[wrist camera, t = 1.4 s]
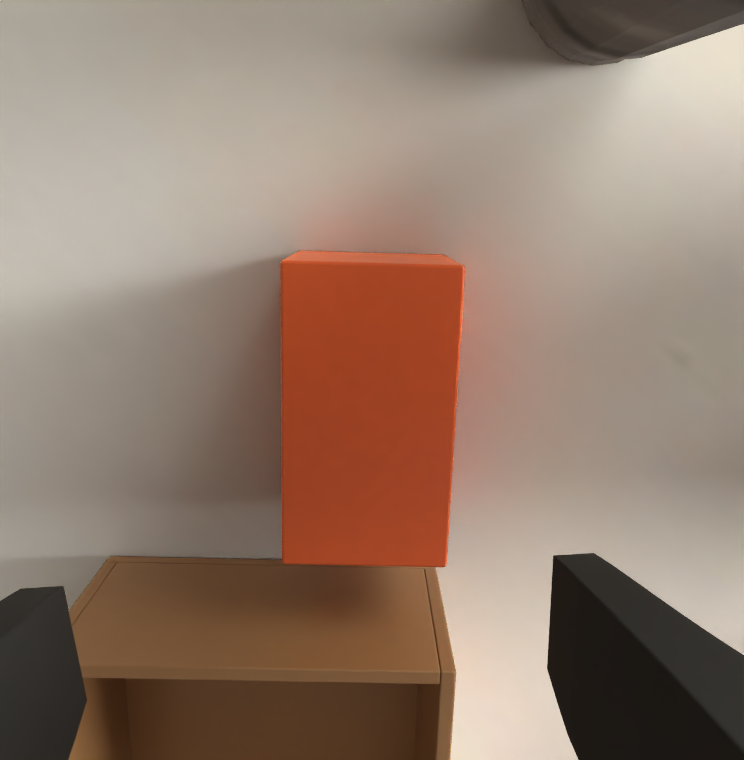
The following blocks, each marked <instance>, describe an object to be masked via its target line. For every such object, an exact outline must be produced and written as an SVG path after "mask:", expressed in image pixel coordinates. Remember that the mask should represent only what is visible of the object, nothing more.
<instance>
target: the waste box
mask: <svg viewBox="0 0 744 760" xmlns="http://www.w3.org/2000/svg"><path fill="white" fill-rule="evenodd" d="M69 616H70V620H71V625H72V630H73V635H74V639H75V644H76V649H77V654H78V659H79V663H80V668H81V673H82V678H83V682H84V687H85V692H86V697H87V702H86V706H85V709H84V712H83V716H82V719H81V722H80V725H79V729H78V732H77V735H76V739H75V742H74V745H73V748H72V751H71V754H70V757H69V760H450V754H451V740H452V725H453V711H454V697H455V682H456V669H455V664H454V659H453V653H452V648H451V643H450V638H449V633H448V628H447V623H446V617H445V612H444V607H443V602H442V597H441V592H440V587H439V581H438V576H437V571H436V567H408V566H360V565H313V564H284V563H283V562H282V560H268V559H221V558H174V557H126V556H110V557H109V558H108V559H107V560H106V562H105V563H104V564H103V566H102V567H101V568H100V570H99V571H98V572H97V574H96V575H95V576H94V578H93V579H92V580H91V582H90V583H89V584H88V586H87V587H86V588H85V590H84V591H83V593H82V594H81V595H80V597H79V598H78V599H77V601H76V602H75V603H74V605H73V606H72V607H71V609H70V610H69Z"/></svg>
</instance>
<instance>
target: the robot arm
mask: <svg viewBox="0 0 744 760" xmlns="http://www.w3.org/2000/svg"><path fill="white" fill-rule="evenodd" d="M547 669H548V672H549V676H550V679H551V682H552V686H553V689H554V692H555V696H556V699H557V702H558V706H559V709H560V712H561V715H562V718H563V721H564V724H565V727H566V730H567V733H568V736H569V739H570V741H571V743H572V745H573V748H574V750H575V752H576V755H577V757H578V759H579V760H744V655H742V654H741V653H739V652H738V651H736V650H735V649H733V648H732V647H730V646H728V645H727V644H725V643H724V642H722V641H721V640H719V639H718V638H716V637H715V636H713V635H712V634H710V633H709V632H707V631H706V630H704V629H703V628H701V627H700V626H698V625H697V624H695V623H694V622H692V621H691V620H690V619H688V618H687V617H685V616H684V615H682V614H681V613H679V612H678V611H677V610H675V609H674V608H672V607H671V606H669V605H668V604H666V603H665V602H664V601H662V600H661V599H659V598H658V597H657V596H655V595H654V594H652V593H651V592H650V591H648V590H647V589H645V588H644V587H642V586H641V585H640V584H638V583H637V582H635V581H634V580H633V579H631V578H630V577H628V576H627V575H626V574H624V573H623V572H621V571H620V570H618V569H617V568H616V567H614V566H613V565H611V564H610V563H608V562H607V561H605V560H604V559H602V558H601V557H599V556H597V555H596V554H594V553H589V554H573V555H557V556H553V573H552V591H551V610H550V628H549V646H548V665H547ZM86 702H87V697H86V692H85V687H84V682H83V678H82V673H81V668H80V663H79V659H78V654H77V649H76V644H75V639H74V635H73V630H72V625H71V620H70V616H69V611H68V606H67V601H66V596H65V592H64V587H63V586H56V587H40V588H24V589H19V590H18V591H16V592H14V593H13V594H11V595H9V596H8V597H6V598H4V599H3V600H1V601H0V760H69V757H70V754H71V751H72V748H73V745H74V742H75V739H76V735H77V732H78V729H79V725H80V722H81V719H82V716H83V712H84V709H85V706H86Z"/></svg>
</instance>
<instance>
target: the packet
mask: <svg viewBox="0 0 744 760" xmlns="http://www.w3.org/2000/svg"><path fill="white" fill-rule="evenodd" d="M464 279H465V267H464V266H463V265H461V264H460V263H458V262H456V261H454V260H453V259H451V258H449V257H447V256H446V255H440V254H405V253H370V252H334V251H297V252H296V253H294V254H292V255H291V256H289V257H287V258H285V259H284V260H282V261H281V263H280V310H281V476H282V562H283V563H284V564H313V565H360V566H408V567H445V566H446V564H447V551H448V535H449V519H450V503H451V487H452V471H453V455H454V439H455V423H456V407H457V391H458V375H459V359H460V343H461V327H462V311H463V295H464Z"/></svg>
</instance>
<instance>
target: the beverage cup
mask: <svg viewBox="0 0 744 760" xmlns="http://www.w3.org/2000/svg"><path fill="white" fill-rule="evenodd" d="M522 1H523V4H524V7H525V10H526V13H527V16H528V19H529V22H530V24H531V26H532V27H533V28H534V30H535V31H536V32H537V34H538V35H539V36H540V38H541V39H542V40H543V42H544V43H545V44H546V45H547V46H548V47H550V48H551V49H553V50H554V51H556V52H557V53H559V54H560V55H562V56H563V57H565V58H566V59H568V60H572V61H576V62H580V63H584V64H588V65H600V64H609V63H618V62H620V61H622V60H624V59H633V58H642V57H645V56H648V55H651V54H654V53H657V52H660V51H663V50H666V49H669V48H672V47H675V46H678V45H681V44H684V43H687V42H690V41H693V40H696V39H699V38H702V37H705V36H708V35H711V34H714V33H717V32H720V31H723V30H726V29H729V28H732V27H735V26H738V25H741V24H744V0H522Z"/></svg>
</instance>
